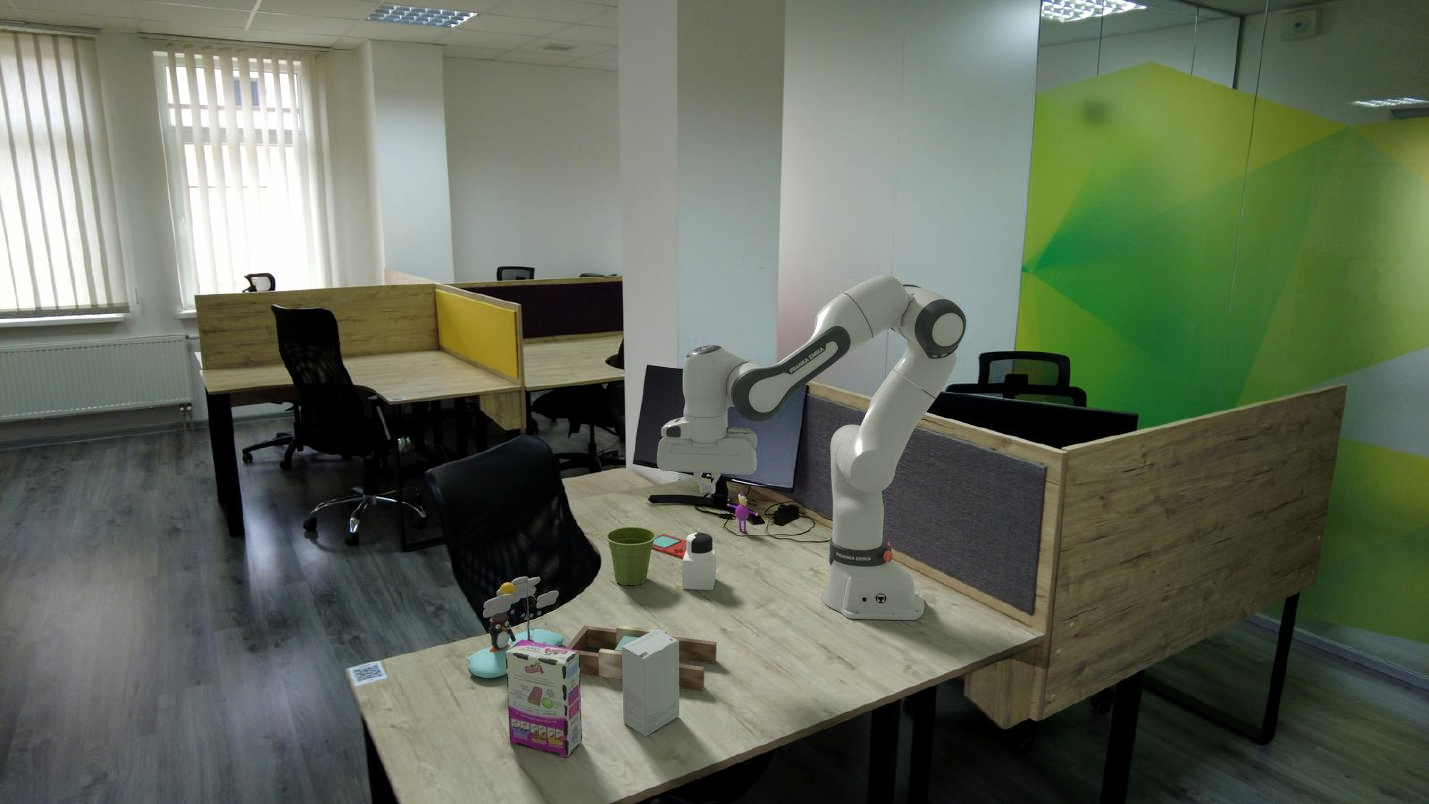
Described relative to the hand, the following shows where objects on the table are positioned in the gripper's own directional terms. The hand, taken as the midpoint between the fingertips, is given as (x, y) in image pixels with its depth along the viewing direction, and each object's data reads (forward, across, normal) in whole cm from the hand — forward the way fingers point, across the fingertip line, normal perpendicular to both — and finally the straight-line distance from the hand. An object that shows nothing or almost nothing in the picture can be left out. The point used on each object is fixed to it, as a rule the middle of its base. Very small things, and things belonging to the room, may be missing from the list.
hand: (707, 492), depth 173 cm
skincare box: (+29, +2, +37) cm, 47 cm away
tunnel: (+29, +10, +20) cm, 36 cm away
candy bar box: (+28, +17, +47) cm, 57 cm away
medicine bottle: (+29, +7, -19) cm, 36 cm away
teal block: (+29, +11, +20) cm, 37 cm away
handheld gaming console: (+30, +19, -39) cm, 53 cm away
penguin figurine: (+28, +34, +22) cm, 49 cm away
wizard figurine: (+30, +4, -54) cm, 62 cm away
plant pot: (+29, +23, -17) cm, 41 cm away
